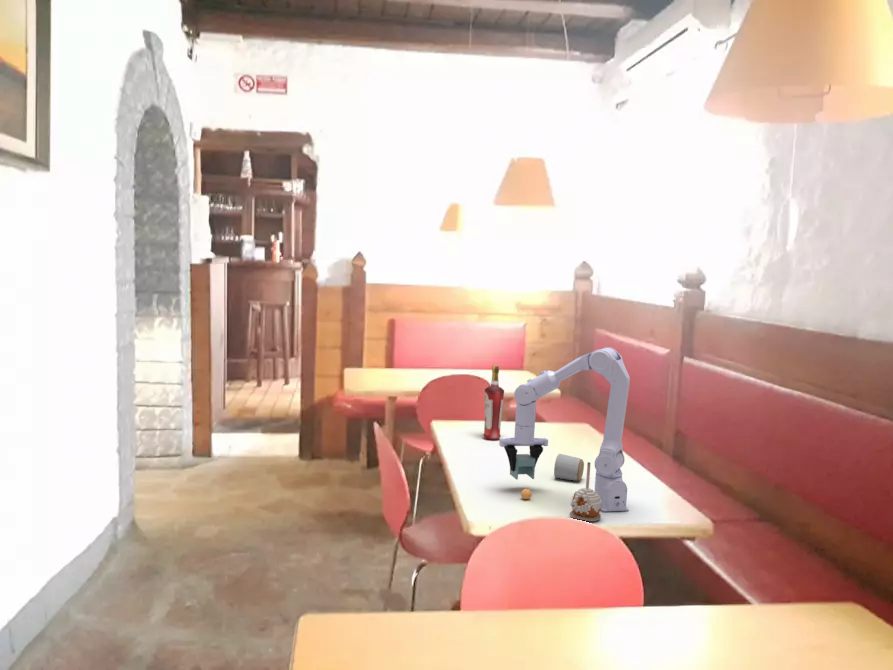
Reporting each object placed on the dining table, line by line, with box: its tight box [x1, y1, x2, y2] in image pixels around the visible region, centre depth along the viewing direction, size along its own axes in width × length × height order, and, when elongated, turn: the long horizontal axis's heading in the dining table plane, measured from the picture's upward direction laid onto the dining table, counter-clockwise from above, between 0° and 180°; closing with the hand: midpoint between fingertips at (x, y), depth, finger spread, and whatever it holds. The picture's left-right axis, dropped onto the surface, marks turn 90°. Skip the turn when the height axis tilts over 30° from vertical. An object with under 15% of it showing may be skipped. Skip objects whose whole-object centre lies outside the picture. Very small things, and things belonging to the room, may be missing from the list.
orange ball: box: [520, 488, 533, 500], centre depth 212 cm, size 3×3×3 cm
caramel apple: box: [569, 462, 602, 522], centre depth 198 cm, size 8×8×15 cm
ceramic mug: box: [553, 453, 585, 482], centre depth 236 cm, size 11×8×8 cm
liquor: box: [482, 365, 505, 441], centre depth 285 cm, size 7×7×28 cm
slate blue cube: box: [509, 453, 536, 481], centre depth 220 cm, size 6×6×6 cm
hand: (522, 470), depth 221 cm, fingers closed on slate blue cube, 5 cm apart
